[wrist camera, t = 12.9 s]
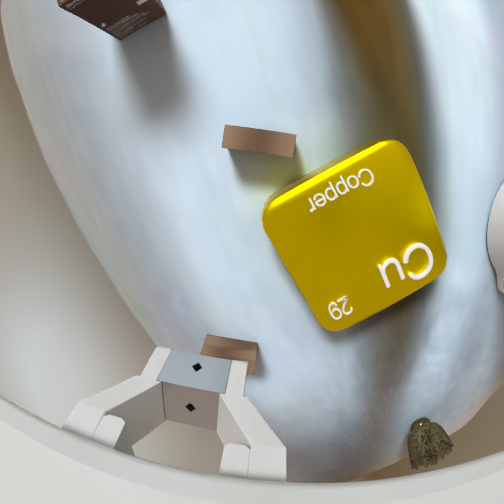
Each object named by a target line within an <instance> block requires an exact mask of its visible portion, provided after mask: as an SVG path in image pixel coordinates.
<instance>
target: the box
mask: <svg viewBox="0 0 504 504" xmlns="http://www.w3.org/2000/svg"><path fill="white" fill-rule="evenodd" d="M57 2H58V5H59V7H60V8H63V9H64V10H66V11H68V12H70V13H72V14H74V15H76V16H78V17H80V18H82V19H84V20H85V21H87V22H89V23H91V24H92V25H94V26H96V27H98V28H100V29H101V30H103V31H105V32H106V33H108V34H110V35H112V36H113V37H115V38H117V39H118V40H121V39H123V38H124V37H126V36H127V35H129V34H131V33H132V32H134V31H135V30H137V29H139V28H141V27H142V26H144V25H146V24H148V23H149V22H151V21H153V20H155V19H157V18H159V17H161V16H163V15H165V14H166V12H165V9H164V7H163V5H162V3H161V1H160V0H57Z"/></svg>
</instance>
